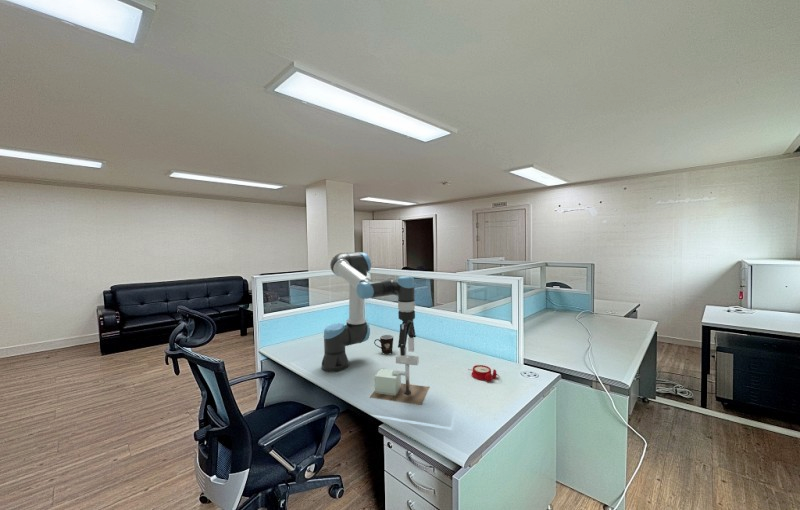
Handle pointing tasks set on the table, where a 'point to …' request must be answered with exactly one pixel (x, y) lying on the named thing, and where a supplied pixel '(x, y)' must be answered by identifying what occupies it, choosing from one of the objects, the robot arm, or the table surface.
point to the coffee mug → (386, 343)
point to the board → (406, 394)
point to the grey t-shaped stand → (406, 368)
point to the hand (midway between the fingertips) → (407, 356)
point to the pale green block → (387, 382)
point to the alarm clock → (483, 373)
